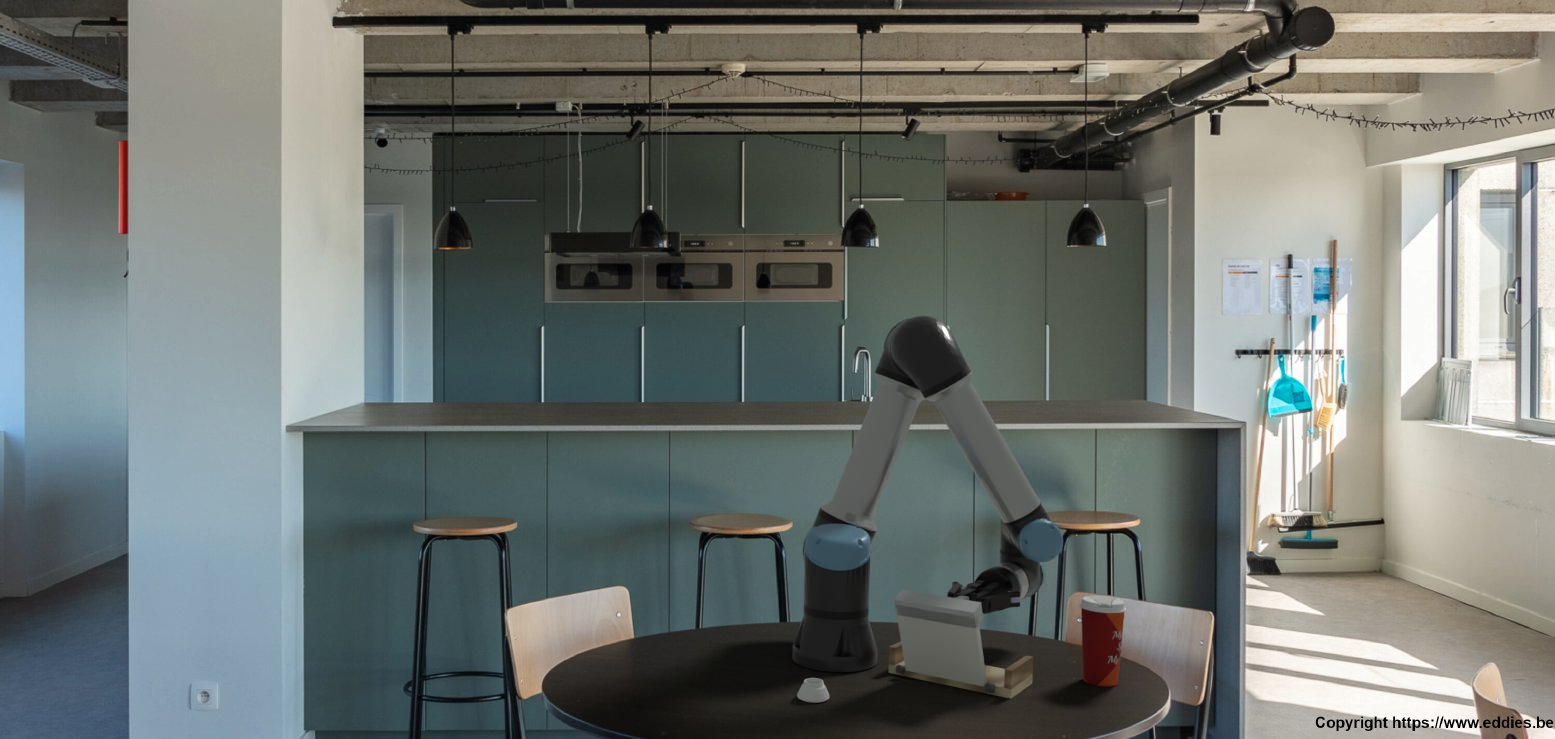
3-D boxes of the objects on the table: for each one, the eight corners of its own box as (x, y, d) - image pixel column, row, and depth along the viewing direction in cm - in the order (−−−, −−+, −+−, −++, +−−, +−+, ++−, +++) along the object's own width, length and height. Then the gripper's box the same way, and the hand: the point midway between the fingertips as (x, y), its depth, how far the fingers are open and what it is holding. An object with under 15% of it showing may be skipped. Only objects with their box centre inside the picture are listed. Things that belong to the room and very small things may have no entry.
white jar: (794, 695, 166) (801, 705, 161) (794, 676, 166) (802, 686, 161) (824, 693, 167) (832, 704, 162) (825, 675, 167) (833, 685, 162)
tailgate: (905, 670, 175) (894, 599, 171) (913, 660, 177) (901, 589, 173) (984, 686, 167) (974, 612, 163) (990, 675, 170) (981, 602, 165)
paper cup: (1127, 690, 172) (1129, 606, 172) (1079, 686, 174) (1081, 603, 174) (1121, 676, 180) (1123, 596, 180) (1075, 672, 182) (1077, 593, 181)
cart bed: (882, 675, 177) (883, 649, 177) (913, 659, 187) (914, 634, 187) (1006, 702, 165) (1006, 674, 165) (1032, 683, 175) (1033, 656, 175)
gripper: (1034, 612, 186) (986, 641, 166) (966, 601, 193) (912, 627, 173) (1036, 571, 186) (987, 594, 166) (967, 561, 193) (913, 582, 173)
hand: (949, 611), depth 170 cm, fingers closed
